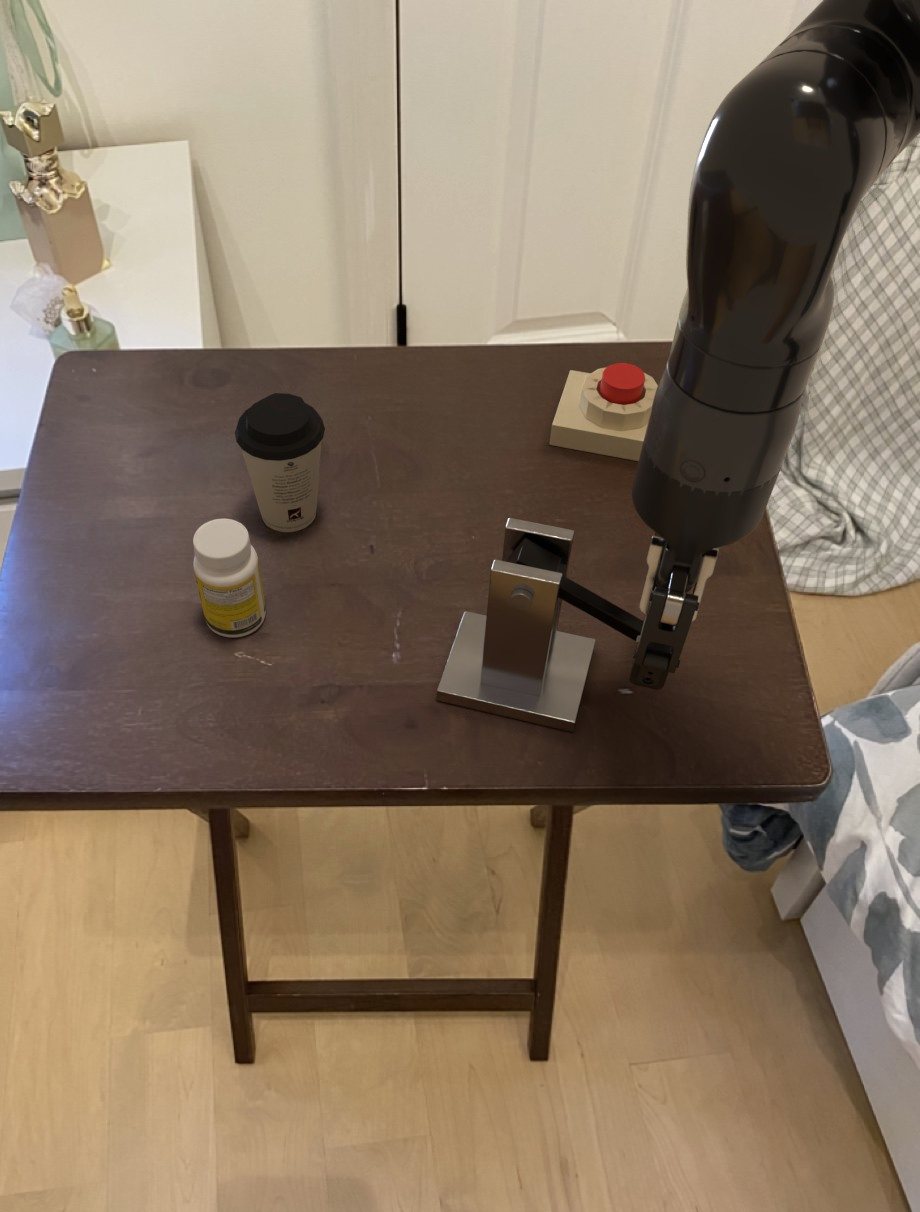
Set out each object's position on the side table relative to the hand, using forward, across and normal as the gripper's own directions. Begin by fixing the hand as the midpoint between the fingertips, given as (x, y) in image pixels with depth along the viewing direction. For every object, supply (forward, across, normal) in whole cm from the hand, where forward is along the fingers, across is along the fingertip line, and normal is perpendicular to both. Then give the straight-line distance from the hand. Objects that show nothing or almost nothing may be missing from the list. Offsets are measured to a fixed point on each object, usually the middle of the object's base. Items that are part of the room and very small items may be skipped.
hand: (655, 634), depth 72 cm
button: (+4, +30, +7) cm, 31 cm away
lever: (0, 0, +5) cm, 5 cm away
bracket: (+8, 0, +9) cm, 12 cm away
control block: (+8, +30, +7) cm, 32 cm away
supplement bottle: (+8, 0, +31) cm, 32 cm away
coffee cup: (+8, +12, +31) cm, 34 cm away
